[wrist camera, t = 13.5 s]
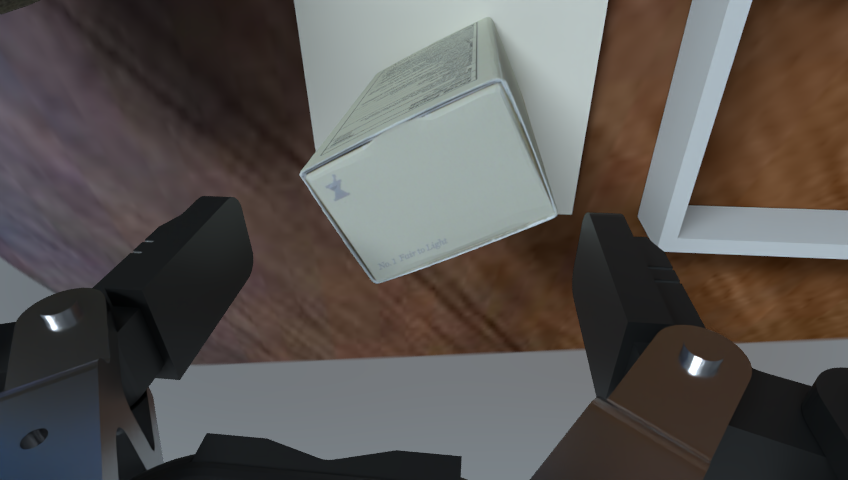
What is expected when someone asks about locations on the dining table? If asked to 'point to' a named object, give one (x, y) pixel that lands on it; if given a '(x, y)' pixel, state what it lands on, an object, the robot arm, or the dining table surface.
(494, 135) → the skincare box
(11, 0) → the cantaloupe
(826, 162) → the dining table surface
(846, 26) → the dining table surface
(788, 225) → the white square frame
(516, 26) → the cream tile
